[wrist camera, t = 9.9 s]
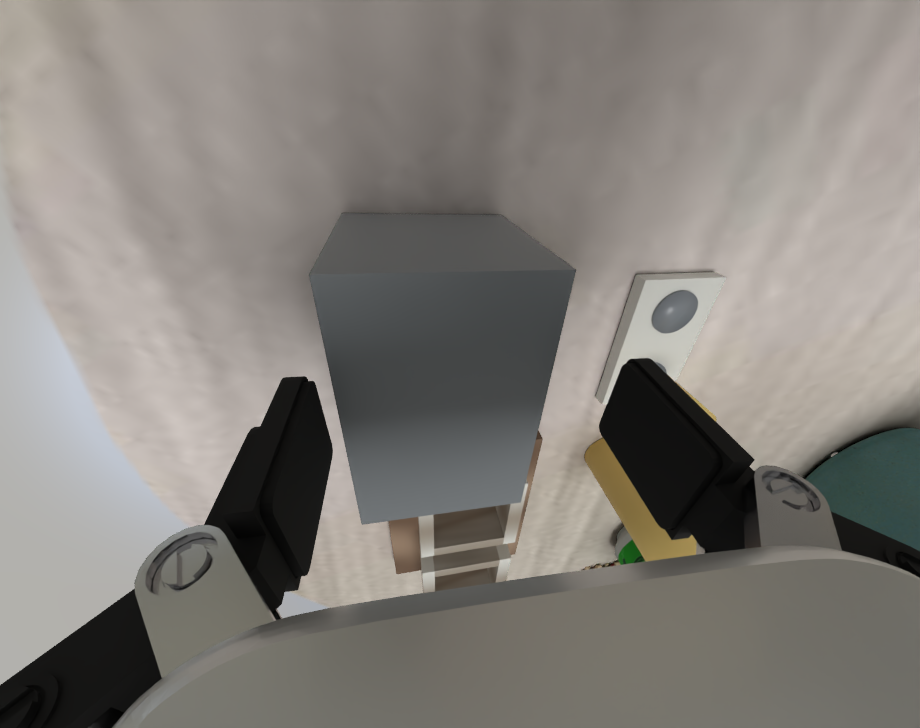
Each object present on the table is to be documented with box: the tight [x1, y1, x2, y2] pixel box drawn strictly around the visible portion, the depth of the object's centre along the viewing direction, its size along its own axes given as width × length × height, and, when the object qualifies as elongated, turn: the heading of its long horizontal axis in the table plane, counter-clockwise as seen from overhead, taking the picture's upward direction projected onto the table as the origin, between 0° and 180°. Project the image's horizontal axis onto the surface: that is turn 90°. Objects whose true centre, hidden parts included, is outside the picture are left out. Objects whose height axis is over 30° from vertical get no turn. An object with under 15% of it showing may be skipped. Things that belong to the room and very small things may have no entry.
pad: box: [596, 272, 727, 422], centre depth 18 cm, size 8×5×5 cm, turn 178°
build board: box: [389, 431, 542, 593], centre depth 24 cm, size 14×10×4 cm
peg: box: [584, 438, 697, 561], centre depth 20 cm, size 3×3×12 cm
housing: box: [309, 213, 576, 525], centre depth 14 cm, size 10×6×7 cm, turn 178°
